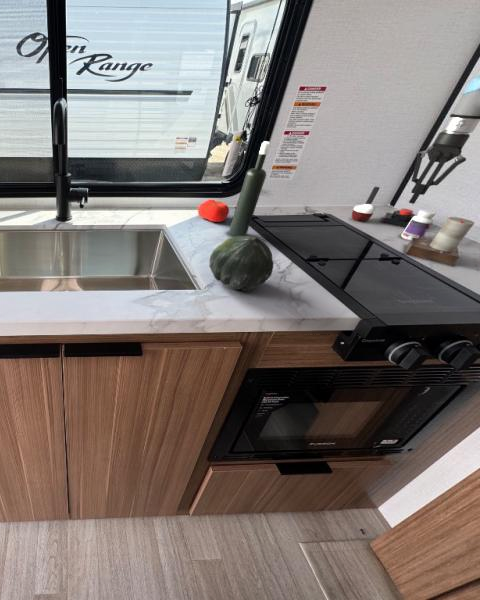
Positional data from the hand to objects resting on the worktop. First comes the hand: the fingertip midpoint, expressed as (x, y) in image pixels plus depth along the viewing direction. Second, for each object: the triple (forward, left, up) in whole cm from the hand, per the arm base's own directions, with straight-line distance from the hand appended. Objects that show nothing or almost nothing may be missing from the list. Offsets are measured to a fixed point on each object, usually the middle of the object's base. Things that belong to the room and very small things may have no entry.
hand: (411, 202), depth 121 cm
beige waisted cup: (-11, +28, -5) cm, 30 cm away
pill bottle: (-4, +15, -9) cm, 18 cm away
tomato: (+55, +48, -9) cm, 73 cm away
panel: (-9, +28, -8) cm, 31 cm away
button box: (0, 0, -8) cm, 8 cm away
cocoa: (+12, +7, -9) cm, 16 cm away
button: (0, 0, -5) cm, 5 cm away
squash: (+30, +89, -8) cm, 94 cm away
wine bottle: (+42, +56, -9) cm, 70 cm away
